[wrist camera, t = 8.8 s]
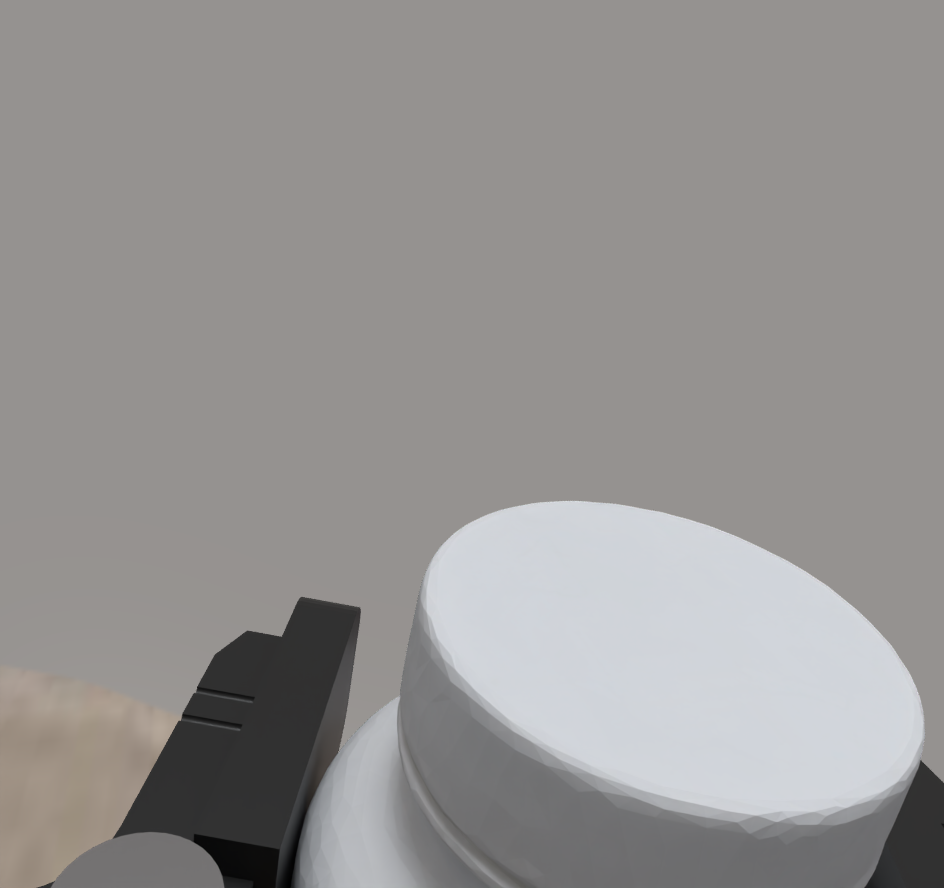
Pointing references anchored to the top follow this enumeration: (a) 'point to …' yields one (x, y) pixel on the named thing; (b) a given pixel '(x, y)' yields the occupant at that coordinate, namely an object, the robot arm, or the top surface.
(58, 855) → the top surface
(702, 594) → the supplement bottle
